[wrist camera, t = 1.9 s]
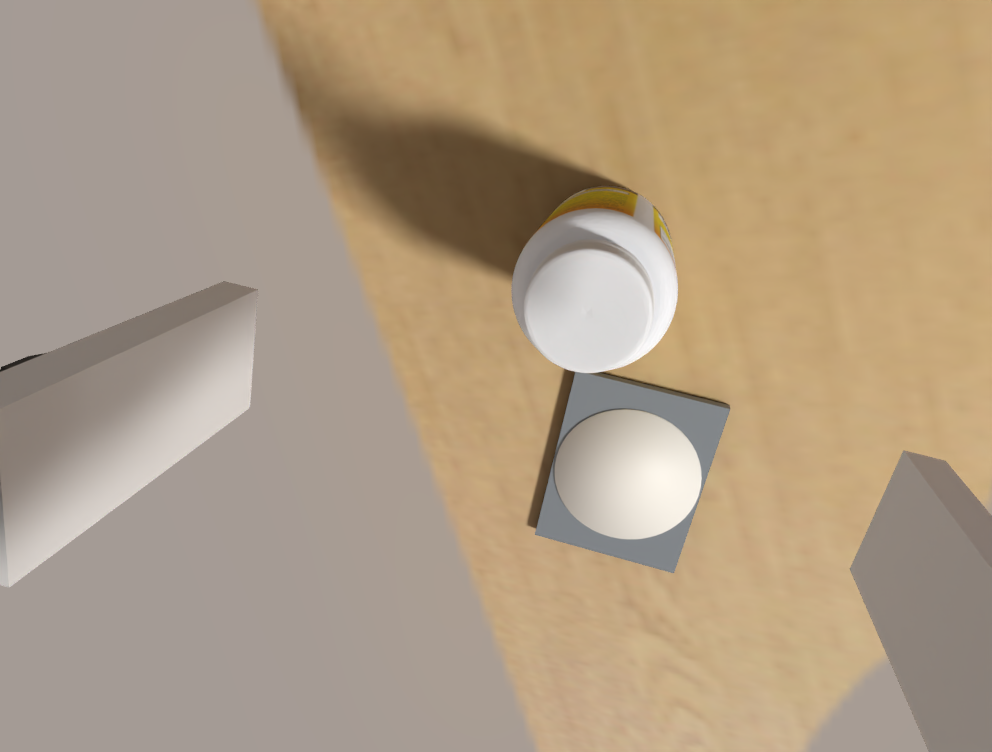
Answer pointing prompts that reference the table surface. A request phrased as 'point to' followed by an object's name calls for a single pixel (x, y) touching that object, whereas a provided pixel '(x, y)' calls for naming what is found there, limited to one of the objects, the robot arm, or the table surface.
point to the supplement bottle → (597, 281)
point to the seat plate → (630, 469)
